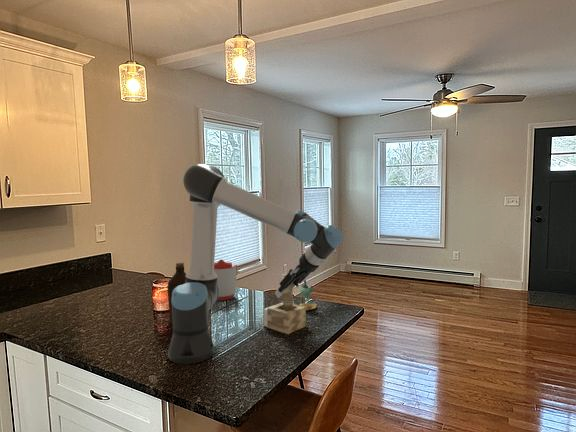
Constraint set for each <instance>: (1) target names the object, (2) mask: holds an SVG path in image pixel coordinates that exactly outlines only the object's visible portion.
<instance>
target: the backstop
mask: <svg viewBox="0 0 576 432" xmlns="http://www.w3.org/2000/svg"><path fill="white" fill-rule="evenodd" d="M281 303H283V301H282V302H280V303H277V304H274V305H271V306H268V307H265V308H264V309H263V326H264V327H266V328H268V325H267V308H269V307H272V306H275V305H278V304H281ZM293 304H295V301H294V300H293Z"/></svg>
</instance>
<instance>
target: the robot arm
mask: <svg viewBox="0 0 576 432" xmlns="http://www.w3.org/2000/svg"><path fill="white" fill-rule="evenodd" d="M182 179H183V187H184V189H185V191H186V192H187V193H188V194H189V203H190V204H191V205H192V207H193V211H192V212H193V213H192V227H191V228H192V230H191V234H192V235H191V246H190V247H191V249H190V250H191V251H190V269H189V271H188V272H187V273H186V279H185V284H183V285H179V286H177V287H176V288H175V289H174V290H173V292H172V298H171V302H172V320H173V325H172V336H171V340H170V343H169V347H168V350H167V356H168V360H169V361H171V362H172V363H176V364H179V365H181V364H182V365H191V364H192V365H193V364H199V363H200V362H204V361H207V360H208V359H210V358H211V357H212V356H214V354H215V345H214V341H213V339H212V336H211V334H210V331H209V311H210V310H211V309H212V307H213V306H214V305H215V304H216V302H218V301H217V299H218V296H219V287H218V284H217V278H218V276H217V274H216V273H215V272H214V263H215V255H216V240H217V238H216V237H217V222H218V221H217V220H218V209H219V207H220V206H225V207H227V208H229V209H230V210H233V211H235V212H238V213H240V214H242V215H244V216H247V217H249V218H251V219H253V220H256V221H257V222H260V223H263V224H264V225H267V226H269V227H271V228H273V229H276V230H278V231H280V232H283V233H285V234H287V235H289V236H291V237H293V238H295V239H296V240H297V241H299V242H301V243H305V244H307V243H310V245H309V246H308V248H307V249H306V250H305V252H303V254H302V255H301V256H300V257H299V261H298V262H299V263H298V265H296V267H295V268H294V269H292V268H290V269H289V271H288V274H287V275H286V276H285V277H284V279H283V280H281V281H280V282H279V287H278V288H277V290H275V292H274V294H275V296H276V298H277V299H280V297H282V296H283V293H284V292H285V291H286V290H287V289H288V288H287V287H288V286H289V285H290V284H292V287H293V289H294V288H298V287H299V284H302V283H303V282H304V280H306V278H307V277H308V276H309V275H310V274H311V273H314V272H316V270H317V269H318V268H319V267H320V266H321V265H322V264H325V260H327V258H329V256H330V255H332V253H333V251H335V250H336V249H337V248H338V247H339V245H340V244H341V243H342V242H343V240H344V236H343V232H342V231H341V230H340V229H339V228H338V227H337V226H334V225H331V224H329V225H327V226H324V225H322V224H321V223H319V222H318V221H317V220H316V219H314V218H313V217H311V216H310V215H309V214H308V213H307V212H305V211H303V210H302V209H298V210H296V211H295V212H294V211H293V210H290V209H288V208H286V207H284V206H281V205H279V204H277V203H274V202H273V201H270V200H269V199H266V198H264V197H261V196H259V195H257V194H254V193H252V192H250V191H248V190H246V189H244V188H242V187H239V186H238V185H235V184H233V183H231V182H228V181H227V179H226V177H225V175H224V173H223V172H222V171H221V170H220V168H218V167H216V166H214V165H210V164H208V165H207V164H203V163H197V164H194V165H191V166H190V167H189V168H188V169H187V170H186V171H185V173H184V175H183V178H182Z"/></svg>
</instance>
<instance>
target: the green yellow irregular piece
mask: <svg viewBox="0 0 576 432" xmlns="http://www.w3.org/2000/svg"><path fill="white" fill-rule="evenodd" d="M303 282H304V283H303V284H301V289H300V296H301V299H298V298H297V299H296V304H297V305H300V306H304V307H306V311H309V310H310V311H311V310H314V309H316V308H317V307H318V304H317V303H314V302H312V300H311V298H310V296H311V294H312V292H313V289H314V286H313V285H310V287H309V286H308V285H307V279H304V280H303ZM303 298H305V299H306V302H303V303H300V302H302V301H303Z"/></svg>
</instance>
